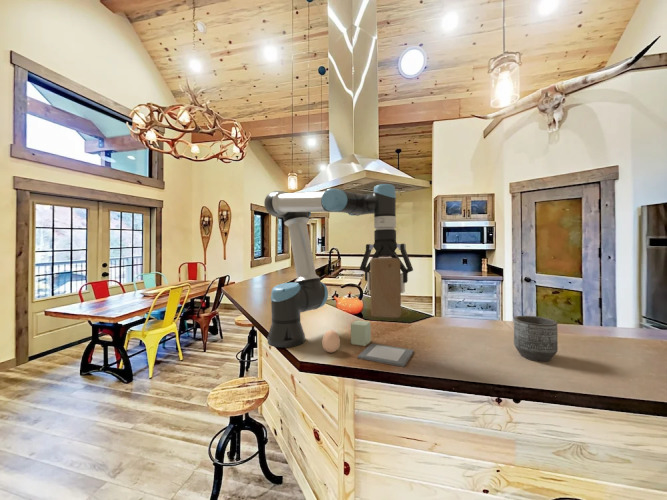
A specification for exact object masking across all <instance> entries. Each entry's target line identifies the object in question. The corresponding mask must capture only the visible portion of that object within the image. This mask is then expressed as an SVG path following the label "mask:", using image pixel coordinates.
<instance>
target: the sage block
mask: <svg viewBox="0 0 667 500" xmlns="http://www.w3.org/2000/svg"><path fill="white" fill-rule="evenodd" d="M371 327H372V325H371V321H366V320H365V321H364V320H359V319H358V320H355V321H353V322H352V323H350V344H351V345H355V346H356V345H357V346H361V347H367V346H368V345H369V344H370V342H371V343H372V341H371V340H372V338H371V337H372V335H371Z"/></svg>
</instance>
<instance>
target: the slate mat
mask: <svg viewBox="0 0 667 500" xmlns="http://www.w3.org/2000/svg"><path fill="white" fill-rule="evenodd" d="M413 354H414V349H409V348H404V347H398V346H392V345H387V344H386V345H385V344H379V343H373V342H371V344H370V343H369V344H368V345H367V346H366V348H365V349H364V350H362V351H361V352H360V353H359V354H358V355H357V359H359V360H367V361H371V362H375V363H381V364H386V365H391V366H397V367H401V368H405V366H406V365H407V363H408V362H409V360H410V359H411V357H412V355H413Z"/></svg>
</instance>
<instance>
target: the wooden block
mask: <svg viewBox="0 0 667 500" xmlns="http://www.w3.org/2000/svg"><path fill="white" fill-rule="evenodd" d="M370 260H371V261H369V262H370V271H369V272H370V274H371V290H370V314H371V316H372V317H375V318H376V317H377V318H397V319H398V318H400V317H401V315H402V300H401V299H402V298H401V297H402V295H401V294H402V293H401V269H400V260H401V259H400V257H399V258H392V257H391V256H385V257H384V256H379V257H378V258H372V257H371V259H370Z"/></svg>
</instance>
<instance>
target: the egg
mask: <svg viewBox="0 0 667 500" xmlns="http://www.w3.org/2000/svg"><path fill="white" fill-rule="evenodd" d="M321 345H322V348H323V350H324V351H326V352H328V353H335V352H337V350H338V349H339V348H340V345H341V339H340V336H339V334H338V333H337V332H336V331H334V330H330V329H329V330H327V331H326V332H325V333H324V335H323V337H322V339H321Z"/></svg>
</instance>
